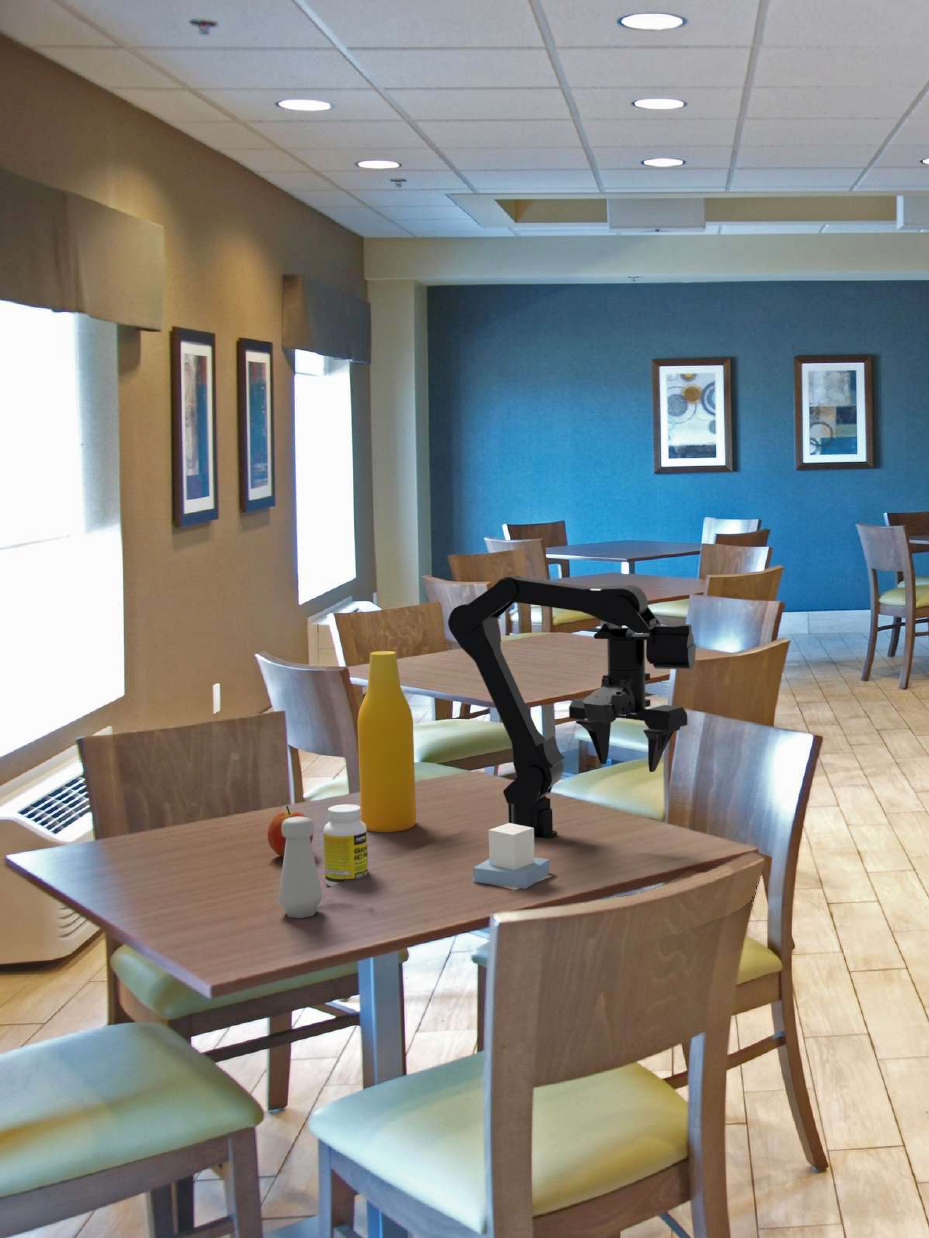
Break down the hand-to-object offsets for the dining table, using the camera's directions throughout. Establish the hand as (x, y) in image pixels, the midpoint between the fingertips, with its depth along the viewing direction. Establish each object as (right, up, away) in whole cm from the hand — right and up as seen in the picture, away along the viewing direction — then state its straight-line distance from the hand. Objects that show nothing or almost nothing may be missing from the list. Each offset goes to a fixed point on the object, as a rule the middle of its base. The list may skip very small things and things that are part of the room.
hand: (627, 767), depth 212 cm
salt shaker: (-47, -17, -28) cm, 57 cm away
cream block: (-19, -11, -20) cm, 29 cm away
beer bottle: (-38, -12, +16) cm, 43 cm away
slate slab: (-19, -13, -19) cm, 30 cm away
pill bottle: (-42, -15, -15) cm, 47 cm away
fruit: (-52, -14, -1) cm, 54 cm away
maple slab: (-18, -15, -19) cm, 31 cm away
